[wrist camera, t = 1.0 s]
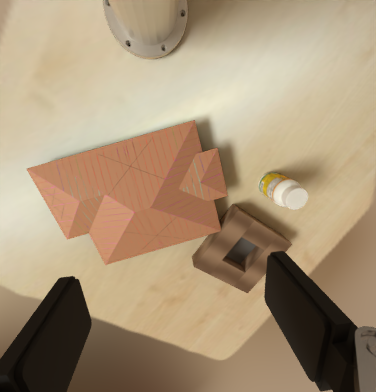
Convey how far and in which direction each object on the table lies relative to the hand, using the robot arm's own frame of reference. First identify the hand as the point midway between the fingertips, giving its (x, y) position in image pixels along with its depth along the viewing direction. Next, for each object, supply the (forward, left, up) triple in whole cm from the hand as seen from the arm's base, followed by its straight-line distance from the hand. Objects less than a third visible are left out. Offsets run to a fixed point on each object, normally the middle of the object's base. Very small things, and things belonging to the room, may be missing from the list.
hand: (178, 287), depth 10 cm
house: (+8, -1, -32) cm, 33 cm away
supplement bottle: (-8, +20, -32) cm, 39 cm away
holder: (+8, +24, -32) cm, 40 cm away
